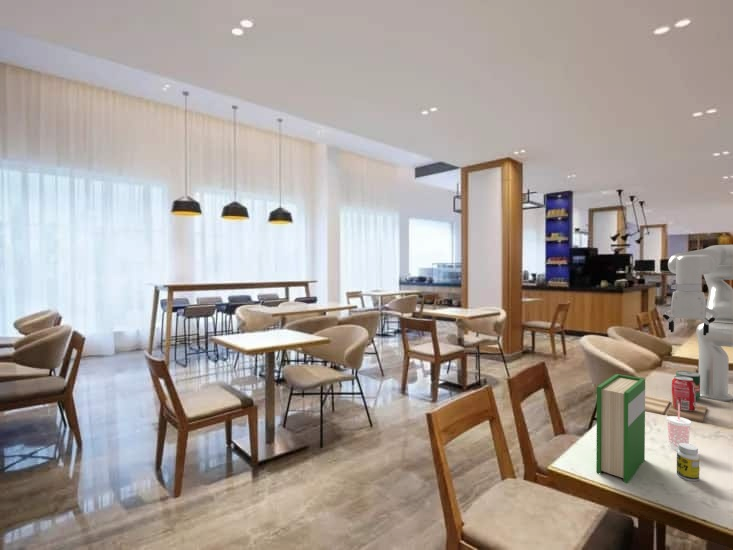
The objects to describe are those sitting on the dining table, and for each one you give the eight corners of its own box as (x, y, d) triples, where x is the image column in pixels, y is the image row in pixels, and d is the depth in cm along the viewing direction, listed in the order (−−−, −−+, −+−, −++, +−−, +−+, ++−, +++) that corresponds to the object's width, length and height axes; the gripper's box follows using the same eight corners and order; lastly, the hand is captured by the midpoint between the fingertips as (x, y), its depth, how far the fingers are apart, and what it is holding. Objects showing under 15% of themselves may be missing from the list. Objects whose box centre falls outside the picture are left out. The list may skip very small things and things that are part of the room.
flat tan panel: (644, 398, 166) (644, 395, 166) (672, 404, 160) (672, 400, 160) (635, 410, 154) (635, 406, 153) (665, 417, 147) (665, 413, 147)
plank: (673, 404, 159) (673, 400, 159) (706, 410, 152) (706, 406, 152) (667, 417, 147) (667, 413, 146) (702, 424, 140) (702, 420, 140)
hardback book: (627, 483, 104) (628, 392, 103) (596, 472, 109) (596, 386, 108) (644, 459, 116) (645, 378, 115) (615, 451, 121) (616, 373, 120)
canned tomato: (697, 404, 160) (697, 377, 159) (673, 398, 166) (673, 373, 166) (702, 399, 165) (702, 373, 164) (678, 394, 171) (679, 369, 171)
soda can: (687, 406, 153) (686, 375, 153) (700, 412, 146) (700, 380, 146) (667, 405, 154) (667, 375, 154) (679, 412, 147) (679, 380, 147)
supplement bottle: (672, 472, 109) (672, 442, 108) (687, 471, 109) (688, 441, 109) (687, 482, 104) (688, 450, 104) (704, 481, 104) (704, 449, 104)
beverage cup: (684, 454, 118) (685, 408, 118) (661, 446, 124) (662, 402, 123) (695, 450, 121) (695, 405, 121) (672, 442, 127) (672, 399, 126)
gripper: (658, 288, 152) (658, 332, 153) (718, 289, 140) (718, 337, 141) (661, 287, 157) (661, 329, 158) (719, 288, 145) (719, 334, 146)
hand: (688, 333), depth 149 cm, fingers open, 9 cm apart
